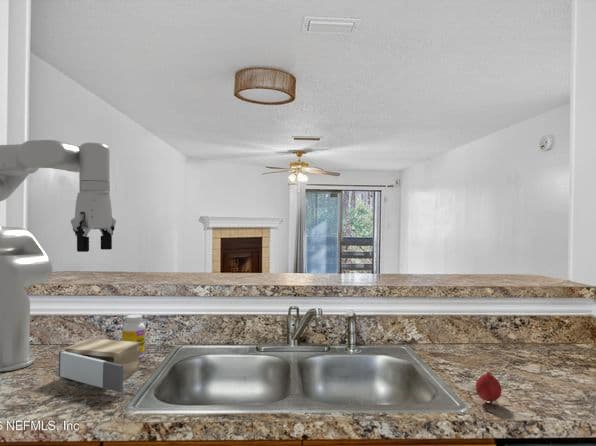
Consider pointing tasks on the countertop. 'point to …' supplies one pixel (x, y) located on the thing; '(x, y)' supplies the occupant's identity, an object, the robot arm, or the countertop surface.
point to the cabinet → (110, 352)
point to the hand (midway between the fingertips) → (95, 250)
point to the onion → (488, 387)
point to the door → (91, 371)
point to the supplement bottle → (134, 331)
